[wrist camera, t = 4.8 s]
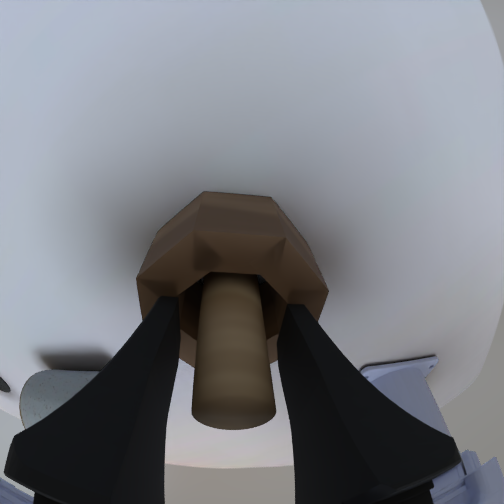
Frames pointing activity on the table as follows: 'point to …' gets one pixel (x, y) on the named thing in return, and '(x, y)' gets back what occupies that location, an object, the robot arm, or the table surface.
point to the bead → (230, 262)
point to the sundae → (4, 386)
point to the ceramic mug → (50, 392)
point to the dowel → (232, 355)
